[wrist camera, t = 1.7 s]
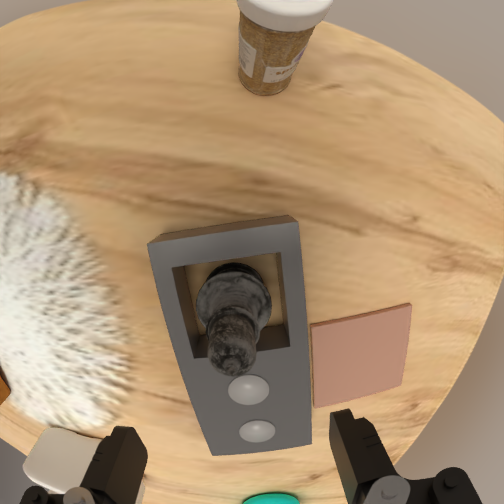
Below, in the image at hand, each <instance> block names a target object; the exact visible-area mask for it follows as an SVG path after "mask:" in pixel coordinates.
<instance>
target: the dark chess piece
mask: <svg viewBox="0 0 504 504" xmlns="http://www.w3.org/2000/svg"><path fill="white" fill-rule="evenodd" d="M271 309H272V304H271V297H270V295H269V293H268V291H267V288H266V287H265V286H264V284H263V281H262V279H261V277H260V275H259V274H258V273H257V272H256V271H255V270H254V269H252V268H251V267H249V266H248V265H245V264H242V263H227V264H224V265H221V266H219V267H217V268H216V269H215V270H214V271H213V272H212V273H211V274H210V275H209V277H208V278H207V281H206V283H205V284H204V285H203V286H202V288H201V289H200V291H199V294H198V297H197V300H196V311H197V314H198V318H199V320H200V321H201V323H202V325H203V326H204V327H205V328H206V336H207V339H208V341H209V345H208V354H207V355H208V359H209V363H210V364H211V366H212V367H213V368H214V369H215V370H216V371H217V372H219V373H221V374H222V375H226V376H231V377H235V376H240V375H243V374H245V373H247V372H248V371H250V369H251V368H252V367H253V365H254V363H255V361H256V343H257V342H258V339H259V337H260V331H261V330H262V329H263V327H264V326H265V325H266V324H267V322H268V320H269V318H270V315H271Z"/></svg>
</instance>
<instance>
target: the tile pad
mask: <svg viewBox="0 0 504 504" xmlns="http://www.w3.org/2000/svg"><path fill="white" fill-rule="evenodd" d="M411 313H412V305H411V304H410V303H408V304H404V305H400V306H396V307H392V308H388V309H383V310H379V311H375V312H370V313H366V314H361V315H357V316H352V317H347V318H342V319H337V320H332V321H327V322H322V323H316V324H311V325H310V331H311V349H312V372H313V405H314V408H320V407H324V406H329V405H333V404H338V403H342V402H346V401H350V400H354V399H357V398H361V397H365V396H368V395H372V394H375V393H379V392H382V391H385V390H388V389H391V388H395V387H398V386H401V383H402V378H403V372H404V366H405V360H406V354H407V347H408V340H409V332H410V323H411Z"/></svg>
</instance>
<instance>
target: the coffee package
mask: <svg viewBox="0 0 504 504" xmlns="http://www.w3.org/2000/svg"><path fill="white" fill-rule="evenodd" d="M9 395H10V390H9V388H8V387H7V385H6V384H5V382H4V381H3V380H2V378H1V376H0V405H1V404H2V403H3V402H4V401H5V400H6V398H7V397H8V396H9Z"/></svg>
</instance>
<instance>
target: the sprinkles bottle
mask: <svg viewBox="0 0 504 504" xmlns="http://www.w3.org/2000/svg"><path fill="white" fill-rule="evenodd" d="M332 3H333V0H237V4H238V7H239V9H240V22H239V63H240V66H239V78H240V80H241V82H242V84H243V85H244V86H245V87H246V88H247V89H248V90H250V91H251V92H253V93H255V94H258V95H273V94H276V93H279V92H281V91H282V90H283V89H284V88H286V87H287V86H288V84H289V82H290V80H291V76H292V73H293V72H294V70H295V68H296V66H297V64H298V62H299V60H300V58H301V56H302V54H303V52H304V50H305V48H306V46H307V44H308V41H309V38H310V36H311V35H312V32H313V30H314V28H315V26H316V25H317V24H319V23H320V22H321V21H322V20H323V19H324V17H325V16H326V14H327V12H328V11H329V9H330V7H331V4H332Z"/></svg>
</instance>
